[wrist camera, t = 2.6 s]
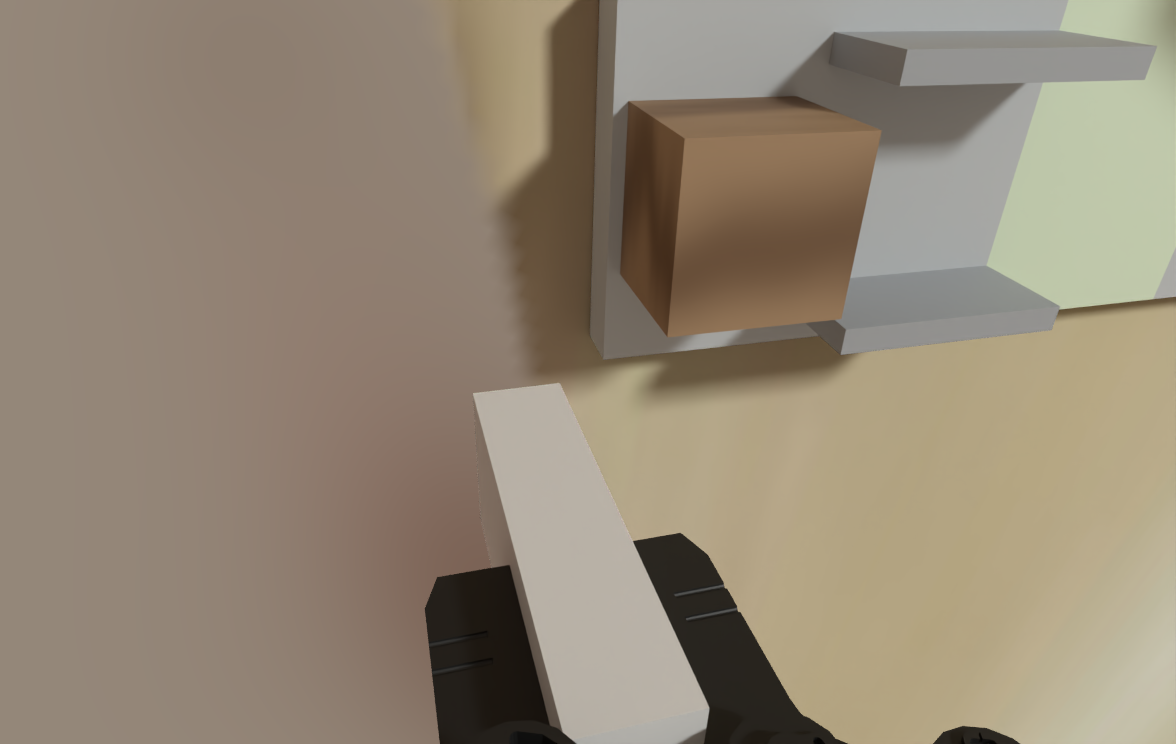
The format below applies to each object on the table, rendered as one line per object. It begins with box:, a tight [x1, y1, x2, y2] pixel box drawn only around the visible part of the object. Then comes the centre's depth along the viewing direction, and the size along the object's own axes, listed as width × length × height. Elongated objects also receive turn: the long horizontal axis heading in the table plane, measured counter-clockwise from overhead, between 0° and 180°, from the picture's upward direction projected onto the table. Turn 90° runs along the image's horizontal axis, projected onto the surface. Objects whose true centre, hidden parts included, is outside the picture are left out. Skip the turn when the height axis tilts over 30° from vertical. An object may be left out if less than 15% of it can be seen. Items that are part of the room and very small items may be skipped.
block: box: [620, 96, 882, 337], centre depth 25 cm, size 6×6×5 cm
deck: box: [590, 0, 1176, 360], centre depth 29 cm, size 13×35×6 cm, turn 89°
